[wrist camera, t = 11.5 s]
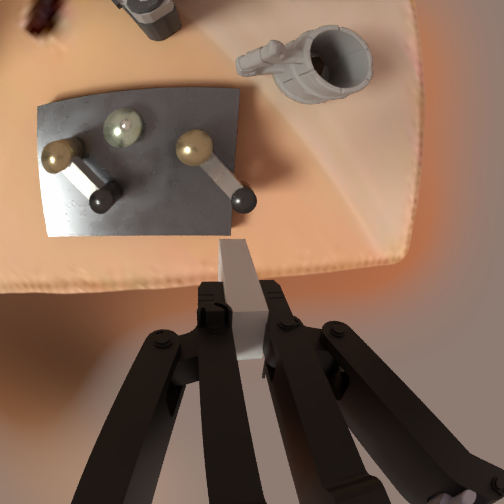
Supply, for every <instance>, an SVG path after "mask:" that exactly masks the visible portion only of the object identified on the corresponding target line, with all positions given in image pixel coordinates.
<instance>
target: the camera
mask: <svg viewBox="0 0 504 504" xmlns="http://www.w3.org/2000/svg"><path fill="white" fill-rule="evenodd" d="M112 2H113V3H114V4H115V5H116V6H117V7H118V8H119V9H120V8H122V7H123V8H124V10H125V11H126V12H127V13H128V14H129V15H130V16H131V18H132V19H133V20H134V21H135V22H136V23H137V24H138V26H139V27H140V28H141V29H142V30H143V31H144V33H145V34H146V35H147V36H148V37H149V38H150V39H151V40H155V41H162V40H164V39H166V38H167V37H169V36H171V35H172V34H173V33H175V32H176V31H178V30H180V29H181V22H180V19H179V15H178V12H177V9H176V6H175V5H174V4H176V3H175V2H174V3H173V2H172V0H112Z"/></svg>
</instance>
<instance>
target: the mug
mask: <svg viewBox="0 0 504 504" xmlns="http://www.w3.org/2000/svg"><path fill="white" fill-rule="evenodd" d="M368 48H369V47H368V45H367V44H366V42H365V41H364V40H363V39H362V38H361V37H360V36H359V35H358V34H356V33H355V32H353V31H352V30H350V29H348V28H344V27H341V28H339V26H338V25H326V26H322V27H319V28H317V29H315V30H311V31H306V32H304V33H303V34H302V35H301V36H299V37H298V38H297V39H296V40H293V41H290V42H289V43H288V44H286V45H285V46H284V45H283V44H282V43H281V42H280V41H276V40H270V42H269V43H268V45H266V46H264V47H260V48H257V49H255V50H253V51H250V52H248V53H247V54H246V55H241V56H239V57H238V58H237V59H236V69H237V73H238V74H239V75H241V76H243V77H250V76H257V75H265V74H273V77H274V80H275V83H276V85H277V86H278V88H279V89H280V90H281V91H282V92H283V93H284V94H285V95H286V96H287V97H288V98H290V99H292V100H294V101H296V102H299V103H303V104H319V103H324V102H326V101H327V100H334V99H343V98H345V97H347V96H348V95H349V94H351V93H355V92H357V91H360V90H361V89H363V88H364V87H366V86H367V85H368V83H369V82H370V81H369V80H371V77H372V75H373V70H372V66H373V59H372V54H371V52H370V50H369V49H368ZM311 52H312V53H311ZM316 56H318V57H320V58H321V59H322V61H323V63H324V64H325V65H324V67H323V70H322V73H321V76H320V75H319V74H318V73H317V72H316V70H314V67H313V64H312V61H311V58H312V57H316ZM327 80H328V82H327Z"/></svg>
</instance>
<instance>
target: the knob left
mask: <svg viewBox="0 0 504 504" xmlns="http://www.w3.org/2000/svg"><path fill="white" fill-rule="evenodd" d="M82 156H83V146H82V144H81V142H80V141H79V140H78V139H76V138H73V137H71V138H66V139H62V140H57V141H53V142H50V143H48V144H47V145H46V146H45V147H44V149H43V151H42V155H41V162H42V166H43V168H44V169H45V170H46V171H47V172H48V173H51V174H56V173H59V172H62V173H63V174H64V175H65V176H66V177H67V178H68V179H69V180H70V181H71V182H72V183H73V184H74V185H75V186H76V187H77V188H78V189H79V190H80V191H81V192H82V193H83V194H84V195H85V196H86V197H87V198H88V199H89V205H90V208H91V209H92V210H93V211H94V212H95V213H97V214H104V213H106V212H107V211H108V210H109V209H110V208H111V207H112V206H113V205H114V204H115V203H116V202H117V201H118V200H119V198H120V195H121V191H120V188H119V187H118V185H117V184H115V183H113V182H108V183H104V182H103V181H102V180H101V179H100V178H99V177H98V176H97V175H96V174H95V173H94V172H93V171H92V170H91V169H90V168H89V167H88V166H87V165H86V164H85V163H84V162H83V161H82V160H81V158H82Z"/></svg>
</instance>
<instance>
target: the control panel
mask: <svg viewBox="0 0 504 504" xmlns="http://www.w3.org/2000/svg"><path fill="white" fill-rule="evenodd" d="M239 97H240V89H236V88H215V87H172V88H151V89H137V90H127V91H117V92H109V93H102V94H95V95H89V96H83V97H77V98H72V99H67V100H62V101H58V102H53V103H49V104H45V105H41V106H38V109H37V145H38V164H39V176H40V186H41V195H42V202H43V209H44V215H45V221H46V227H47V232H48V237H54V236H125V235H221V236H231V220H232V204H231V201H230V198H229V197H228V196H227V194H226V193H225V192H224V191H223V190H222V189H221V188H220V187H219V186H218V185H217V184H216V183H215V182H214V181H213V179H212V178H211V177H210V176H209V175H208V174H207V173H206V172H205V171H204V170H203V169H202V168H201V167H200V166H189V165H186V164H184V163H183V162H181V161H180V159H179V158H178V156H177V154H176V144H177V141H178V139H179V138H180V137H181V136H182V135H183V134H184V133H186V132H188V131H190V130H193V129H201V130H204V131H205V132H207V133H208V134H209V135H210V137H211V139H212V145H213V150H212V151H213V152H214V153H215V155H216V156H217V157H218V158H219V159H220V160H221V161H222V162H223V163H224V164H225V166H226V167H227V168H228V169H229V170H230V171H231V172H232V173H233V174H234V168H235V152H236V138H237V123H238V110H239ZM71 137H73V138H76V139H78V140H79V141H80V142H81V144H82V146H83V156H82V158H81V160H82V161H83V162H84V163H85V164H86V165H87V166H88V167H89V168H90V169H91V170H92V171H93V172H94V173H95V174H96V175H97V176H98V177H99V178H100V179H101V180H102V181H103V182H104V183H108V182H113V183H115V184H117V185H118V187H119V188H120V191H121V195H120V198H119V200H118V201H117V202H116V203H115V204H114V205H113V206H112V207H111V208H110V209H109V210H108V211H107V212H106V213H104V214H97V213H95V212H94V211H93V210H92V209H91V208H90V205H89V199H88V198H87V197H86V196H85V195H84V194H83V193H82V192H81V191H80V190H79V189H78V188H77V187H76V186H75V185H74V184H73V183H72V182H71V181H70V180H69V179H68V178H67V177H66V176H65V175H64V174H63V173H62V172H59V173H56V174H51V173H48V172H47V171H46V170H45V169H44V168H43V166H42V162H41V155H42V151H43V149H44V147H45V146H46V145H47V144H48V143H50V142H53V141H57V140H62V139H66V138H71Z"/></svg>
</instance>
